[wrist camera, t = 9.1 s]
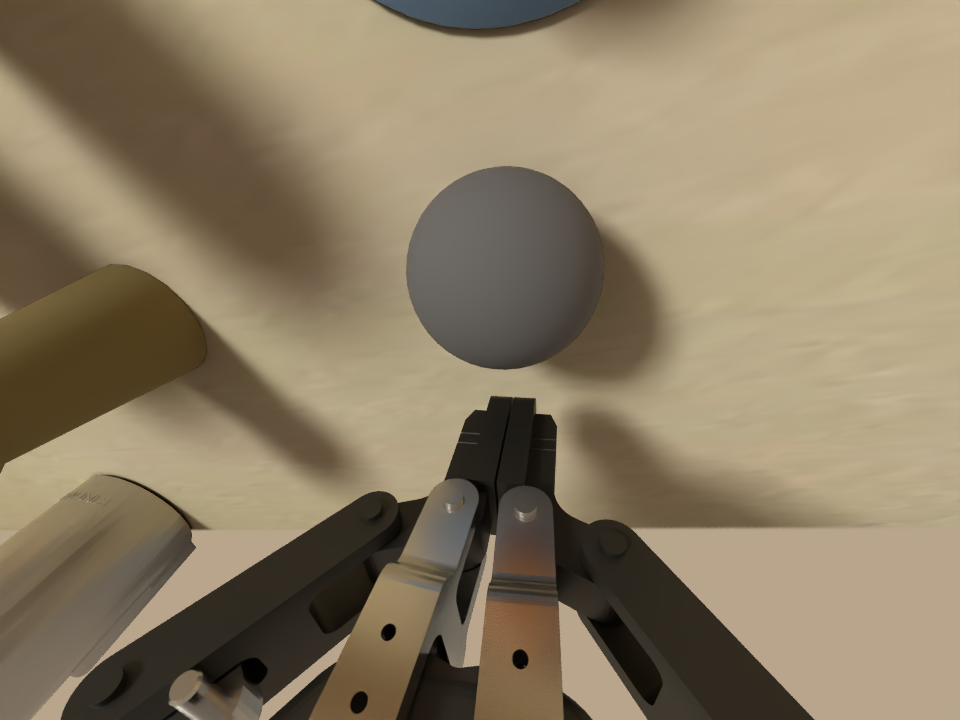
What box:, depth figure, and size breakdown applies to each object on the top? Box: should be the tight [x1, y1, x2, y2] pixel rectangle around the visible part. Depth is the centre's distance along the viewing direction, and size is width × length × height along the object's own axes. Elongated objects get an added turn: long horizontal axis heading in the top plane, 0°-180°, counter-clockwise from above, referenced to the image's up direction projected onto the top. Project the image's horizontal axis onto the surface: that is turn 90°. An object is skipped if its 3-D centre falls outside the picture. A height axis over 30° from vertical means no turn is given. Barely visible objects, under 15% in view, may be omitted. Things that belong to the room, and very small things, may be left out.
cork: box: [0, 264, 207, 473], centre depth 15 cm, size 6×6×11 cm
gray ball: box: [406, 166, 604, 370], centre depth 11 cm, size 6×6×6 cm
